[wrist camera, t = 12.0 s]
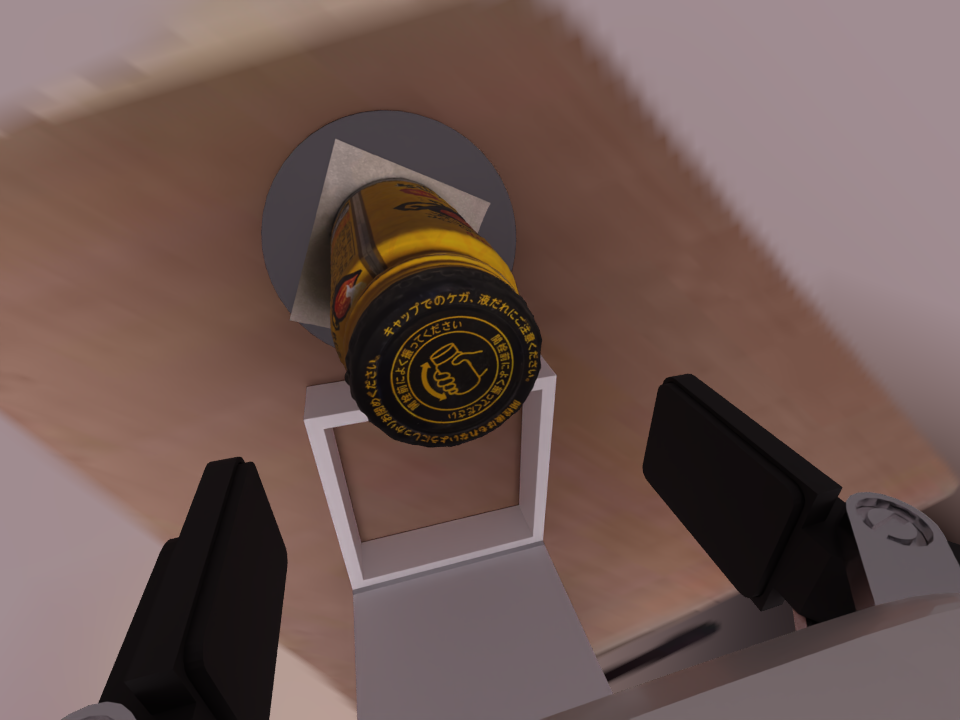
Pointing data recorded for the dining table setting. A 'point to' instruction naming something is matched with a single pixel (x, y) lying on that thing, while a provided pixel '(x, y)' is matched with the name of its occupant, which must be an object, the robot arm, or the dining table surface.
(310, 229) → the mat
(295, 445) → the dining table surface
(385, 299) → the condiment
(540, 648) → the case
